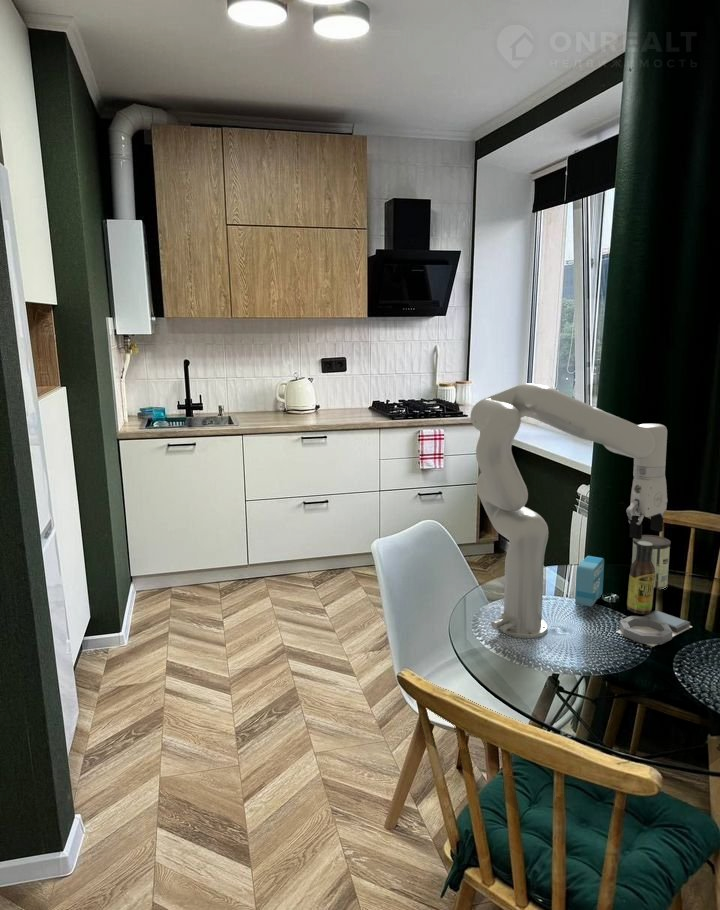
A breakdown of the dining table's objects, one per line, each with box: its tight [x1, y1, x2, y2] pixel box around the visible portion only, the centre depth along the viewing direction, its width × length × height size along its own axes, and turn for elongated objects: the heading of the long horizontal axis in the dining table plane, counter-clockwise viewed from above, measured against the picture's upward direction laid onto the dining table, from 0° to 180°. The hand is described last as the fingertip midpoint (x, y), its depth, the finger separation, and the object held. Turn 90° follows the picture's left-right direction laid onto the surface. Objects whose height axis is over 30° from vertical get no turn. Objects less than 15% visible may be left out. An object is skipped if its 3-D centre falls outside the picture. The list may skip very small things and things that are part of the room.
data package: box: [574, 555, 605, 608], centre depth 182 cm, size 12×4×12 cm, turn 146°
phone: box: [643, 609, 691, 633], centre depth 166 cm, size 6×9×1 cm, turn 35°
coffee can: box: [631, 534, 672, 590], centre depth 193 cm, size 10×10×14 cm
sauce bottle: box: [626, 541, 655, 615], centre depth 173 cm, size 6×6×20 cm
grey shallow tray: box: [615, 615, 693, 648], centre depth 163 cm, size 19×11×3 cm, turn 125°
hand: (646, 534), depth 171 cm, fingers open, 9 cm apart
